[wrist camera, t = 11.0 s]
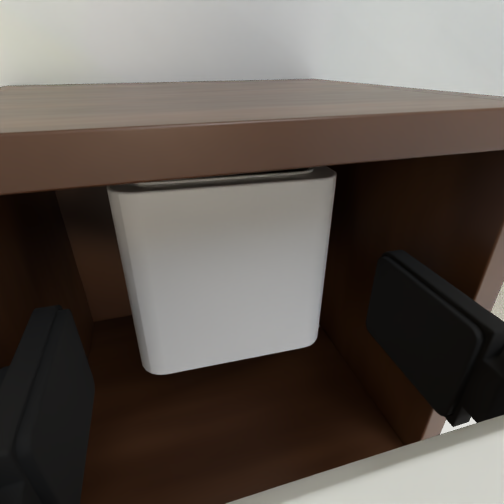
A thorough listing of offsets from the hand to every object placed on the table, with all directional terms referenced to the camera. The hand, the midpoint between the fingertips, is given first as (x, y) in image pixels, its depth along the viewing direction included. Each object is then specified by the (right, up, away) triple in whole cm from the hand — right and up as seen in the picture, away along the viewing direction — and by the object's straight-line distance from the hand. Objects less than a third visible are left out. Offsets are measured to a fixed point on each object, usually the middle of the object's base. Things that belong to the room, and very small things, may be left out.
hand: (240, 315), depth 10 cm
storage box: (-3, +4, +10) cm, 11 cm away
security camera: (-3, +5, +9) cm, 10 cm away
